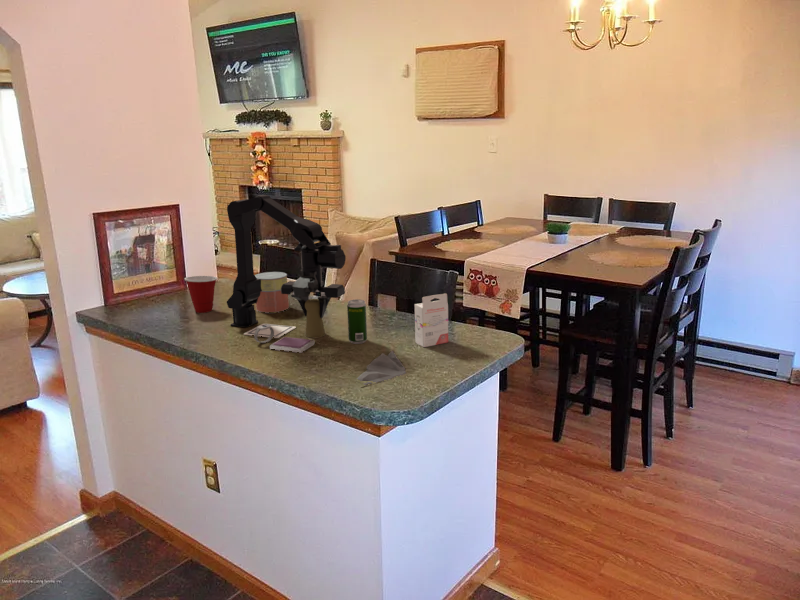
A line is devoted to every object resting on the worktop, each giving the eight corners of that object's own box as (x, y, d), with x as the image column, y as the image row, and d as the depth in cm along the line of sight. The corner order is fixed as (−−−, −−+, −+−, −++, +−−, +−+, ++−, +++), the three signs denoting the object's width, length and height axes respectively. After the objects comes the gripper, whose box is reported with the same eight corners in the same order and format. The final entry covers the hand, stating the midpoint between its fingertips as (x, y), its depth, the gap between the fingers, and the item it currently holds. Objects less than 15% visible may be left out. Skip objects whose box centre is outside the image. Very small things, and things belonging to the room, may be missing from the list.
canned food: (273, 302, 227) (271, 270, 224) (295, 307, 220) (293, 274, 217) (249, 310, 218) (246, 276, 215) (272, 315, 211) (269, 280, 208)
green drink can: (369, 342, 182) (368, 302, 179) (352, 345, 179) (351, 304, 176) (362, 337, 186) (361, 298, 183) (345, 340, 184) (344, 300, 181)
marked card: (243, 334, 191) (243, 333, 191) (263, 324, 201) (263, 323, 201) (278, 338, 187) (278, 337, 187) (296, 327, 197) (296, 326, 197)
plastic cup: (227, 308, 220) (223, 275, 217) (202, 316, 211) (199, 281, 208) (205, 304, 226) (202, 272, 222) (181, 312, 217) (177, 278, 214)
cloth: (379, 395, 147) (379, 386, 146) (330, 385, 153) (330, 376, 152) (428, 360, 169) (428, 352, 168) (384, 352, 175) (384, 345, 174)
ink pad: (270, 349, 177) (269, 344, 177) (284, 340, 185) (284, 335, 184) (301, 352, 174) (301, 347, 174) (314, 343, 181) (314, 339, 181)
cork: (321, 338, 186) (319, 302, 183) (302, 337, 188) (300, 301, 185) (327, 331, 192) (326, 297, 189) (309, 331, 193) (307, 296, 190)
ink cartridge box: (439, 338, 184) (439, 289, 181) (448, 342, 180) (448, 293, 176) (414, 342, 181) (413, 293, 177) (422, 347, 176) (422, 297, 173)
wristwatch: (258, 346, 180) (257, 329, 179) (253, 344, 182) (251, 327, 181) (276, 340, 185) (275, 324, 183) (270, 339, 186) (269, 322, 185)
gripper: (269, 270, 180) (273, 321, 184) (327, 273, 174) (330, 327, 178) (288, 262, 190) (291, 311, 194) (344, 265, 184) (346, 316, 188)
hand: (314, 317), depth 188 cm, fingers closed on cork, 5 cm apart
